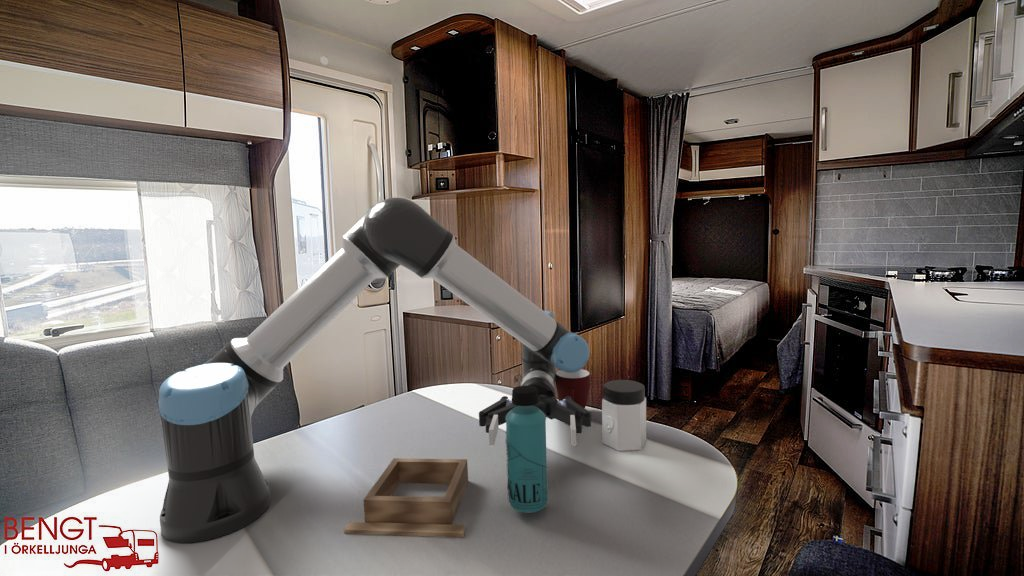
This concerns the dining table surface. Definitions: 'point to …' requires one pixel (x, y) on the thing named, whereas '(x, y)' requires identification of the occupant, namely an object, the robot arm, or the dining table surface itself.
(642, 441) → the jar
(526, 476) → the beverage bottle
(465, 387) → the dining table surface
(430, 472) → the square wooden frame
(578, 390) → the mug
